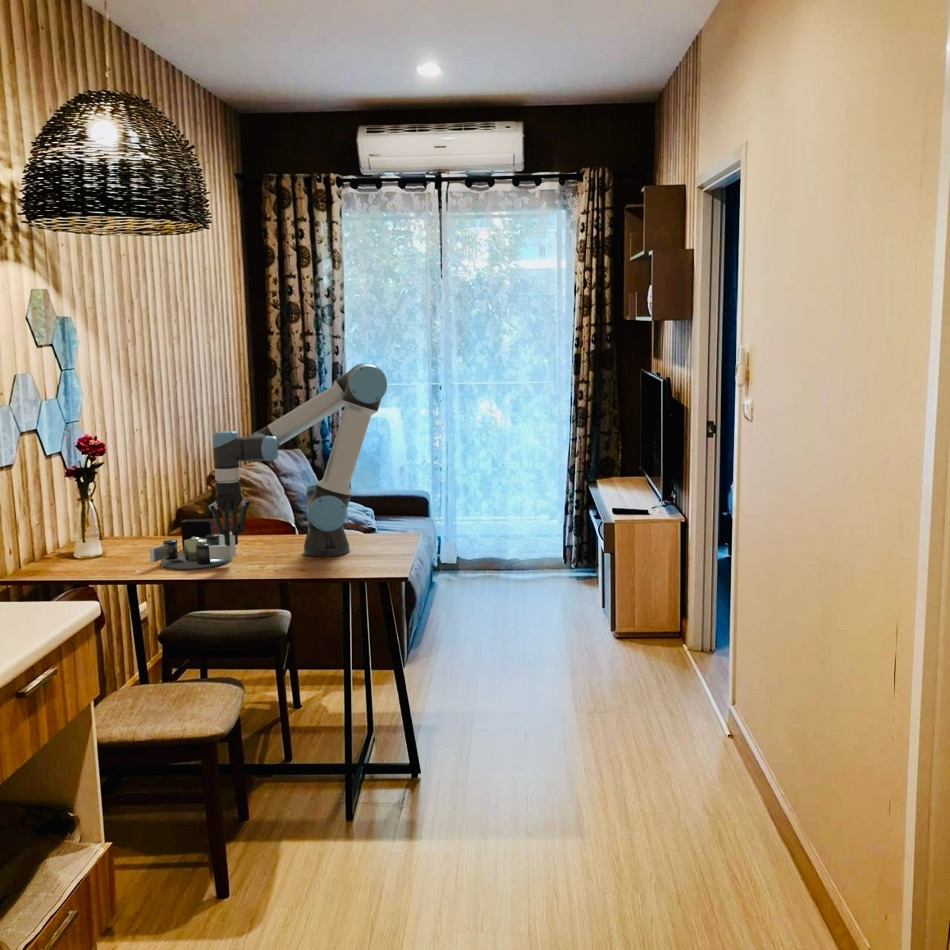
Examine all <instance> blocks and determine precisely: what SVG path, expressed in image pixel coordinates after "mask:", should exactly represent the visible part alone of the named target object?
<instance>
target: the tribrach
mask: <svg viewBox="0 0 950 950" xmlns="http://www.w3.org/2000/svg"><path fill="white" fill-rule="evenodd" d="M199 543H207V539H206V538H199V537H192V538H191V539H186V540H184V548H185V550H184V552H178V558H177V559H172V560H166V559H162V560H160V566H161V567H162V568H163V569H166V570H170V569H173V570H172V571H198V570H207V569H213V568H217V567H218V568H219V567H222V566H224V565H227V564H229V563H231V562H232V560H233V559H217V560H211V562H210V563H205V564H199V563H197V547H196V544H199Z"/></svg>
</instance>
